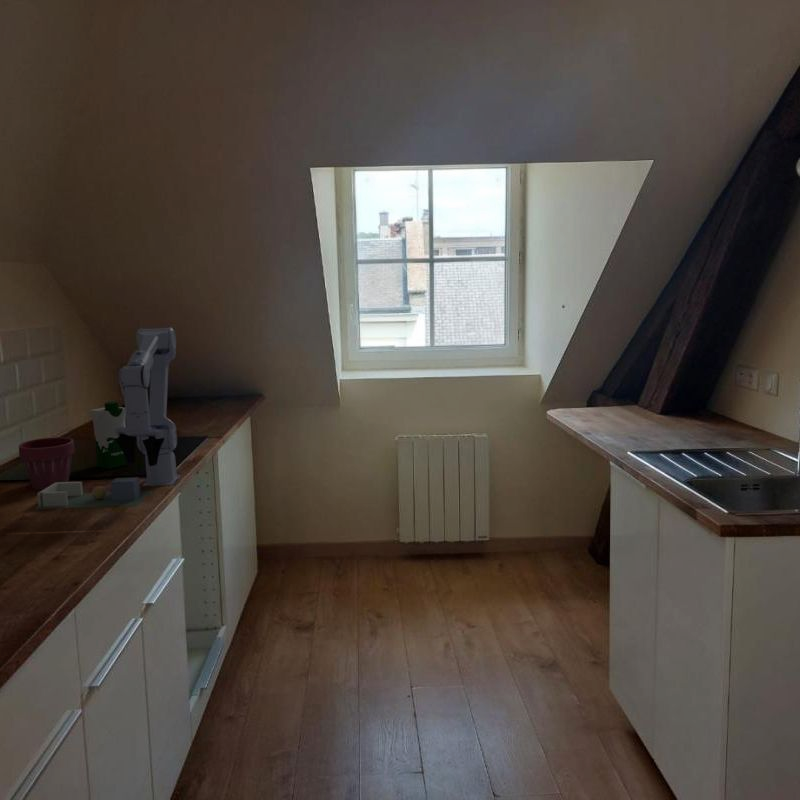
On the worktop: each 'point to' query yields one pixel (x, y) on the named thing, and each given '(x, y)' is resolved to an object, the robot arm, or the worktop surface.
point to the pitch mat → (98, 501)
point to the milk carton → (108, 435)
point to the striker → (125, 489)
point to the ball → (99, 492)
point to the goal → (59, 493)
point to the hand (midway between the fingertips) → (142, 464)
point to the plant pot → (47, 460)
